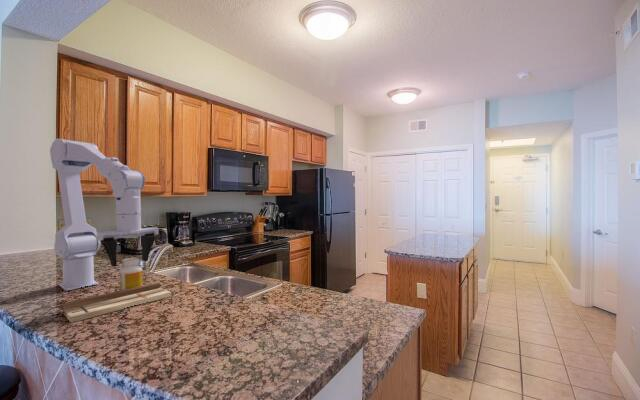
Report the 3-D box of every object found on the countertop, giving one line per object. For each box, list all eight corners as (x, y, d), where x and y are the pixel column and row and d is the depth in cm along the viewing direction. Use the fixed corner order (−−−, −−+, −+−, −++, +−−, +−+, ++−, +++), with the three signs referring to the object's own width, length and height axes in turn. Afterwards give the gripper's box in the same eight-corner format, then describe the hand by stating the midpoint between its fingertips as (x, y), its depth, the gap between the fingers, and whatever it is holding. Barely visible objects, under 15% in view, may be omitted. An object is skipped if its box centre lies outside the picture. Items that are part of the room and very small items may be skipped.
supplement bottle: (147, 291, 86) (146, 257, 85) (132, 298, 80) (131, 261, 80) (130, 290, 87) (129, 257, 86) (114, 297, 81) (113, 261, 81)
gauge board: (63, 313, 70) (62, 303, 70) (158, 290, 86) (158, 282, 86) (71, 322, 65) (70, 311, 65) (170, 296, 81) (170, 287, 81)
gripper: (101, 216, 75) (102, 270, 75) (162, 213, 86) (163, 260, 86) (93, 215, 80) (94, 266, 80) (152, 212, 91) (153, 257, 91)
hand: (130, 263), depth 83 cm, fingers open, 7 cm apart
